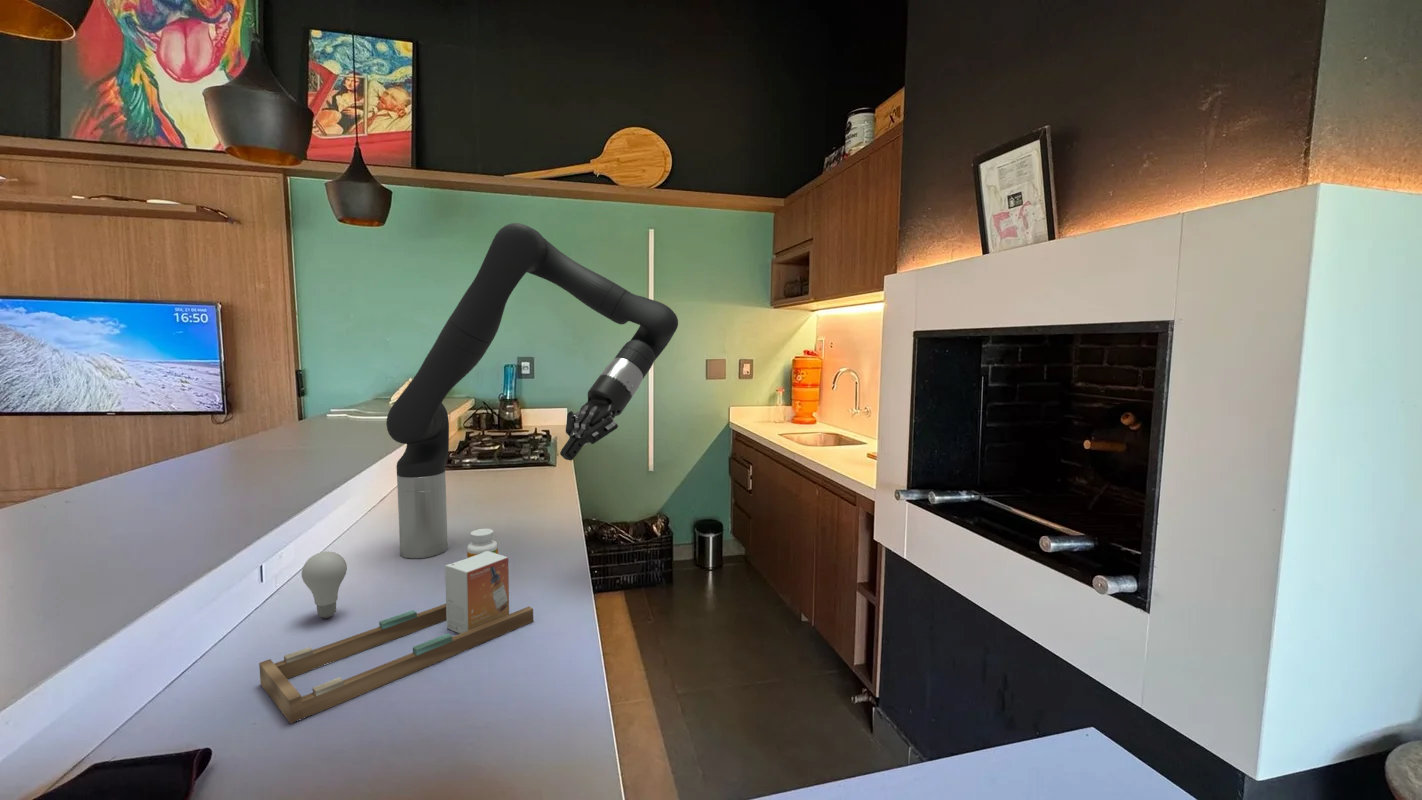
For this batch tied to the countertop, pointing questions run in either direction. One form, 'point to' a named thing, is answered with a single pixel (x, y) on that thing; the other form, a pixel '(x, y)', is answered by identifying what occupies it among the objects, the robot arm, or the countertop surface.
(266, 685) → the u-shaped wooden frame
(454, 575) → the small box
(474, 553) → the supplement bottle
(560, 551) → the countertop surface
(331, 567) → the lightbulb
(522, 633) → the countertop surface
